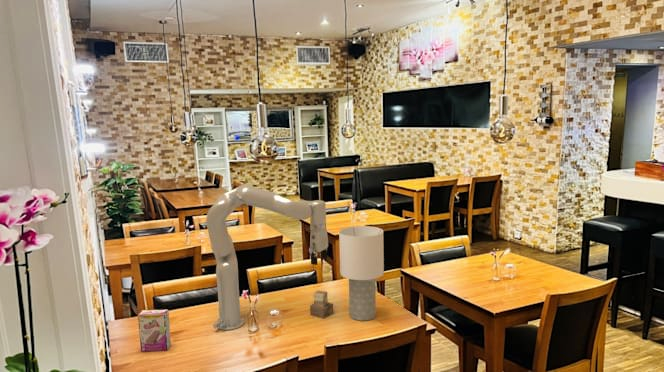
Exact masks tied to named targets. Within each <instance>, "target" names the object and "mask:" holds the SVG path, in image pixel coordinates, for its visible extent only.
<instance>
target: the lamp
mask: <svg viewBox="0 0 664 372" xmlns="http://www.w3.org/2000/svg"><path fill="white" fill-rule="evenodd" d="M338 236H339V238H338V240H339V241H338V243H339V274H340V276H341V277H343V278H345V279H348V303H349V306H348V307H349V310H348V311H349V317H350V318H351V319H352V320H354V321H357V320H359V321H358V322H366V320H368V321H371V320H373V319H375V318H376V315H377V313H376V312H377V308H376V304H377V303H376V302H377V301H376V292H377V291H376V279H378V278H380V277H382V276H384V274H385V273H384V272H385V271H384V270H385V269H384V268H385V264H384V263H385V262H384V261H385V258H384V257H385V256H384V254H385V253H384V248H385V247H384V230H383V228H380V227H376V226H369V225H355V226H348V227H345V228H344V227H343V228H342V229H340V230H339V231H338Z"/></svg>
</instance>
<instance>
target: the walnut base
mask: <svg viewBox="0 0 664 372" xmlns="http://www.w3.org/2000/svg"><path fill="white" fill-rule="evenodd" d="M309 313H310V316H313V317H315V316H316V317H317V318H318V319H321V320H325V319H326V318H327V317H329V316H331V315H333V314H334V303H332V302H329V301H328V304H326V305H325V306H324V307H319V306H314V303H312V304H310V305H309ZM332 313H333V314H332ZM330 314H331V315H330ZM316 317H315V318H316Z"/></svg>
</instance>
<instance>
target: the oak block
mask: <svg viewBox="0 0 664 372" xmlns="http://www.w3.org/2000/svg"><path fill="white" fill-rule="evenodd" d="M328 302H329V301H328V291H327V290H326V291H325V290H319V289H317V290H316V291H315V292H313V304H314V306H319V307H324V306H325V305H326V304H328Z"/></svg>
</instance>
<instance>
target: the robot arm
mask: <svg viewBox="0 0 664 372" xmlns="http://www.w3.org/2000/svg"><path fill="white" fill-rule="evenodd" d="M242 205H247V206H251V207H255V208H259V209H263V210H266V211H270V212H273V213H275V214H280V215H282V216H284V217H288V218H293V219H297V220H301V221H305V220H308V219H309V221H310V222H309V223H310V224H309V225H310V226H309V227H310V228H309V230H310V237H309V238H310V239H309V240H310V241H309V248H308V252H309V253H308V254H309V257H310V264H311V265H312V266H313V265H314V266H317V265H318V256H317V255H318V253H320V258H321V259H322V260H327V259H328V247H329V239H328V231H327V209H326V208H327V206H326V202H325V201H324V200H320V199H317V200H297V201H295V200H292V199H288V198H286V197H284V196H283V195H281V194H279V193H276V192H274V191H270V190H266V189H262V188H259V187H254V186H253V185H252V184H250V183H244V184H241V185H239V186H237V187H235V188H233V189H232V190H230V191H227V192H225V193H224V194H221V195H219V196H218V197H217V199H215V202H214V204H213V205H212V206H211V207H210V208H209V209H208V212H207V214H206V222H205V223H206V226H207V227H206V228H207V234H208V237H209V238H208V239H209V241H210V248H211V251H212V253H213V255H214V258H215V262H216V268H215V276H216V287H217V300H218V311H219V317H218V319H217V321H216V322H215V323H213V324H212V326H213V327H212V328H214V329H217V328H218V329H219V330H222V331H232V330H235V329H236V330H237V329H239V328H240V327H243V325H244V324H245V319H244V318H243V317H241V304H240V303H241V302H240V289H239V287H240V286H239V269H238V268H239V267H238V266H239V265H238V259H237V254H236V251H235V246H234V241H233V238H232V236H231V235H230V234H229V231H228V230H229V229H228V226H227V222H226V221H227V218H228V217H229V216H230V215H231V214H233V212H234V210H235V209H236V208H238V207H240V206H242Z"/></svg>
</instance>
